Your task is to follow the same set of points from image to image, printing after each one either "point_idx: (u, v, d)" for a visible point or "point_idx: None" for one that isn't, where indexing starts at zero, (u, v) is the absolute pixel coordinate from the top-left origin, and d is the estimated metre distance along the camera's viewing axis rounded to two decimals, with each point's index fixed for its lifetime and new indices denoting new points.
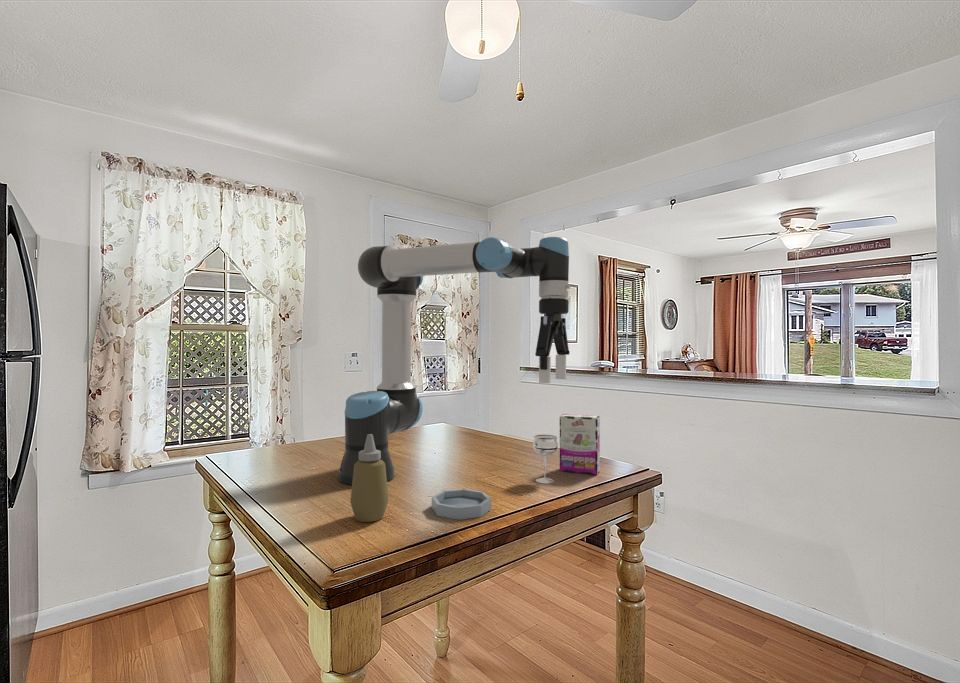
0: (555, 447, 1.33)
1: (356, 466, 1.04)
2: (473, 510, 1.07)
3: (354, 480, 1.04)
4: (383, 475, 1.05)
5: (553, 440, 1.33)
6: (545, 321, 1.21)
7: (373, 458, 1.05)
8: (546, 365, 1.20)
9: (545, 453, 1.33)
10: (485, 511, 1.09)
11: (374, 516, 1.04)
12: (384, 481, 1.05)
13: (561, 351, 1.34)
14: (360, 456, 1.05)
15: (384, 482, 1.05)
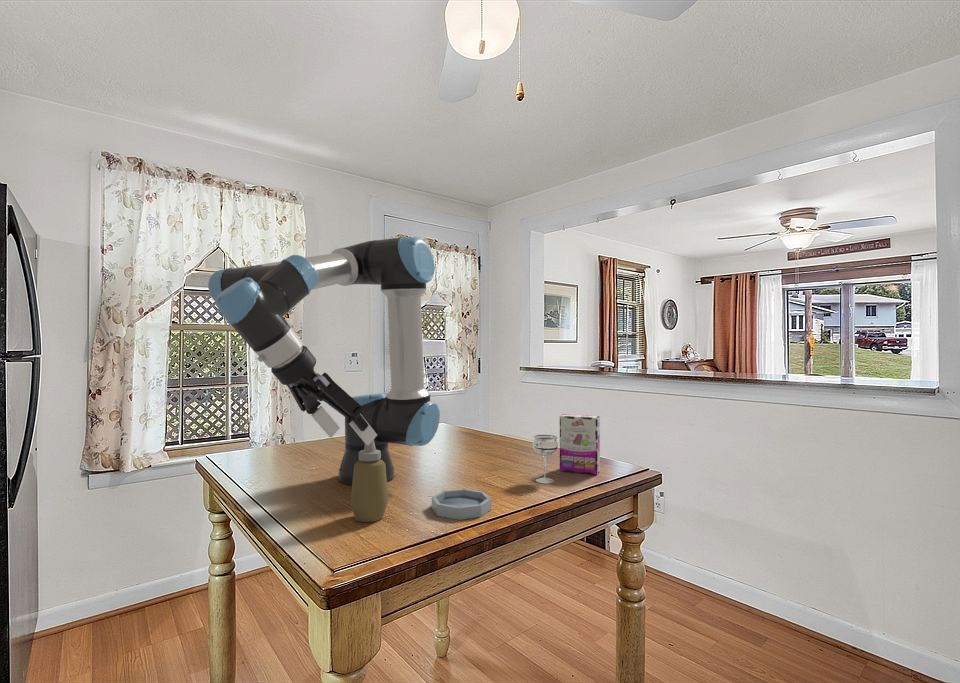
0: (555, 447, 1.33)
1: (356, 466, 1.04)
2: (473, 510, 1.07)
3: (354, 480, 1.04)
4: (383, 475, 1.05)
5: (553, 440, 1.33)
6: None
7: (373, 458, 1.05)
8: None
9: (545, 453, 1.33)
10: (485, 511, 1.09)
11: (374, 516, 1.04)
12: (384, 481, 1.05)
13: None
14: (360, 456, 1.05)
15: (384, 482, 1.05)
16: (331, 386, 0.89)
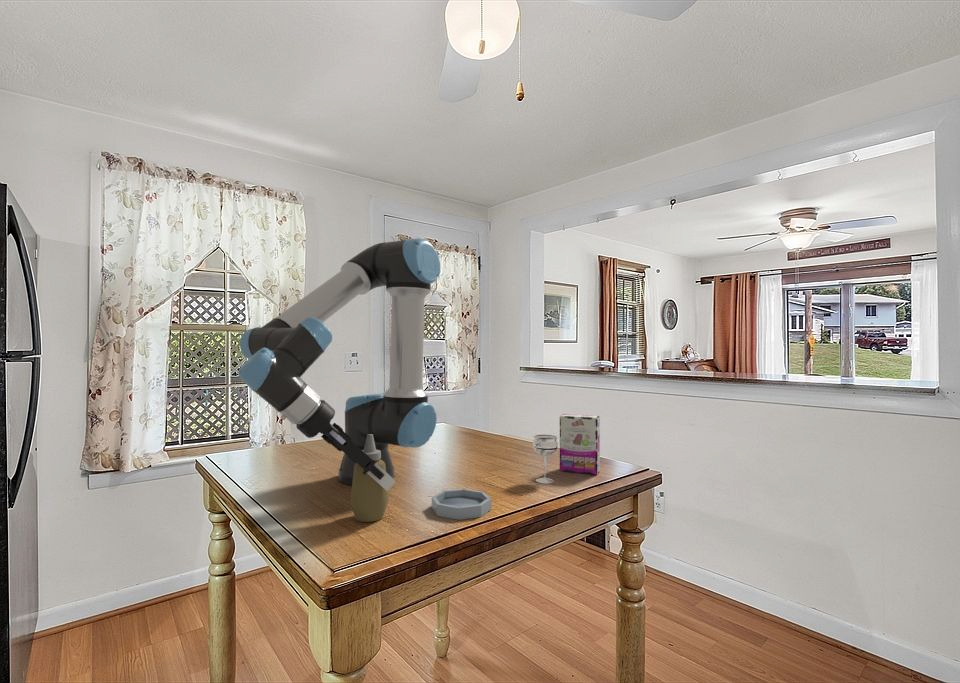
0: (555, 447, 1.33)
1: (356, 466, 1.04)
2: (473, 510, 1.07)
3: (354, 480, 1.04)
4: None
5: (553, 440, 1.33)
6: None
7: (373, 458, 1.05)
8: None
9: (545, 453, 1.33)
10: (485, 511, 1.09)
11: (374, 516, 1.04)
12: None
13: None
14: None
15: None
16: (347, 444, 0.98)
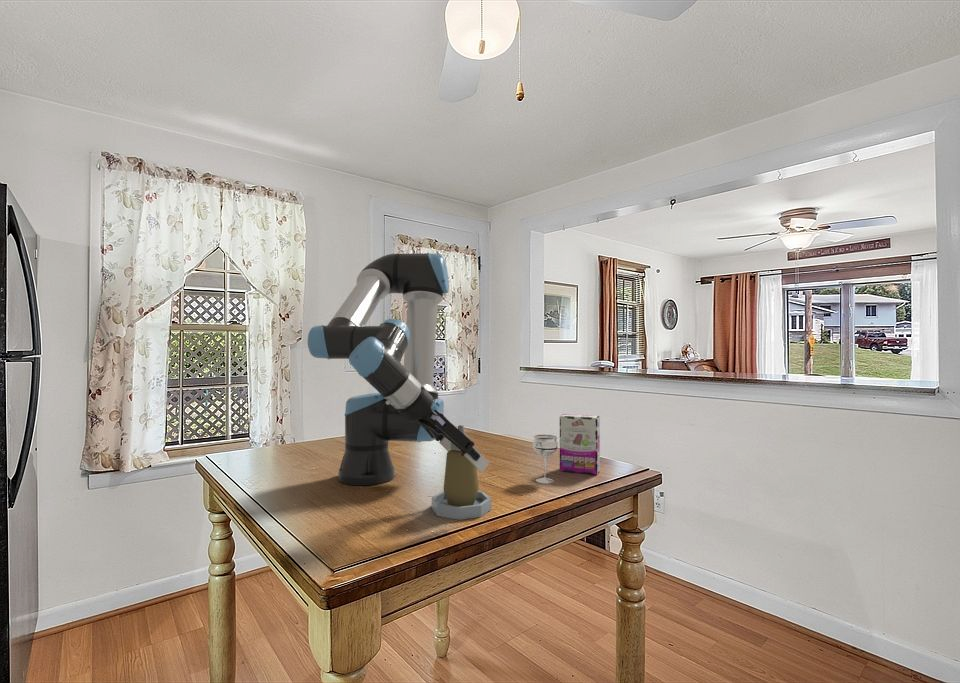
0: (555, 447, 1.33)
1: (450, 455, 1.10)
2: (473, 510, 1.07)
3: (448, 469, 1.10)
4: None
5: (553, 440, 1.33)
6: None
7: None
8: None
9: (545, 453, 1.33)
10: (485, 511, 1.09)
11: (468, 502, 1.10)
12: (475, 469, 1.11)
13: None
14: (453, 446, 1.11)
15: (475, 470, 1.11)
16: (446, 425, 1.03)
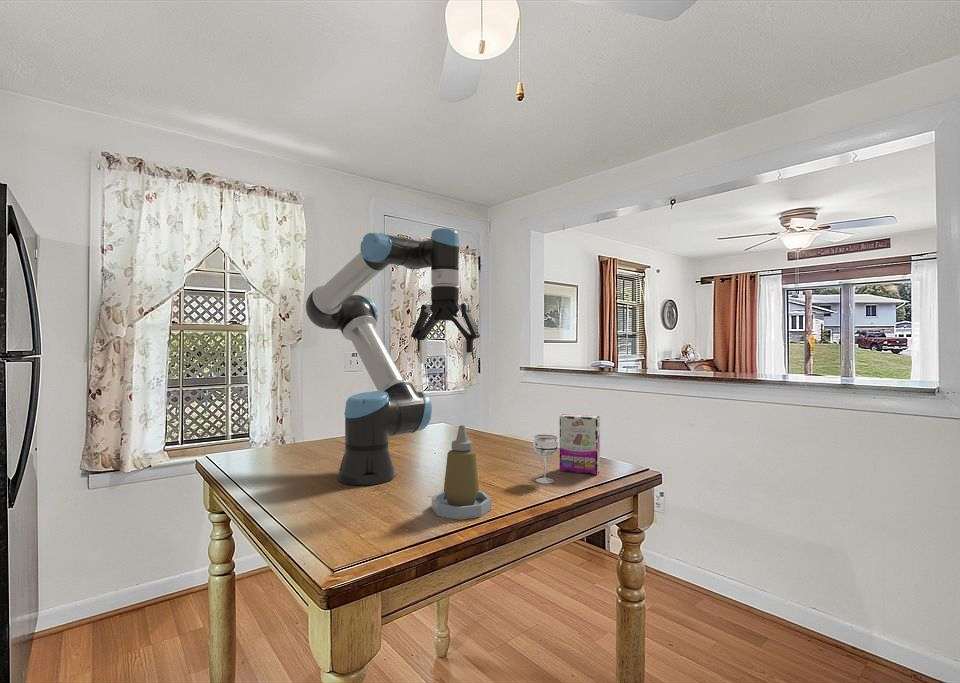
0: (555, 447, 1.33)
1: (451, 455, 1.10)
2: (473, 510, 1.07)
3: (449, 468, 1.10)
4: (475, 464, 1.11)
5: (553, 440, 1.33)
6: None
7: (466, 447, 1.10)
8: (420, 347, 1.38)
9: (545, 453, 1.33)
10: (485, 511, 1.09)
11: (468, 502, 1.10)
12: (476, 469, 1.11)
13: None
14: (454, 446, 1.11)
15: (476, 470, 1.11)
16: (468, 312, 1.32)
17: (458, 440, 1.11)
